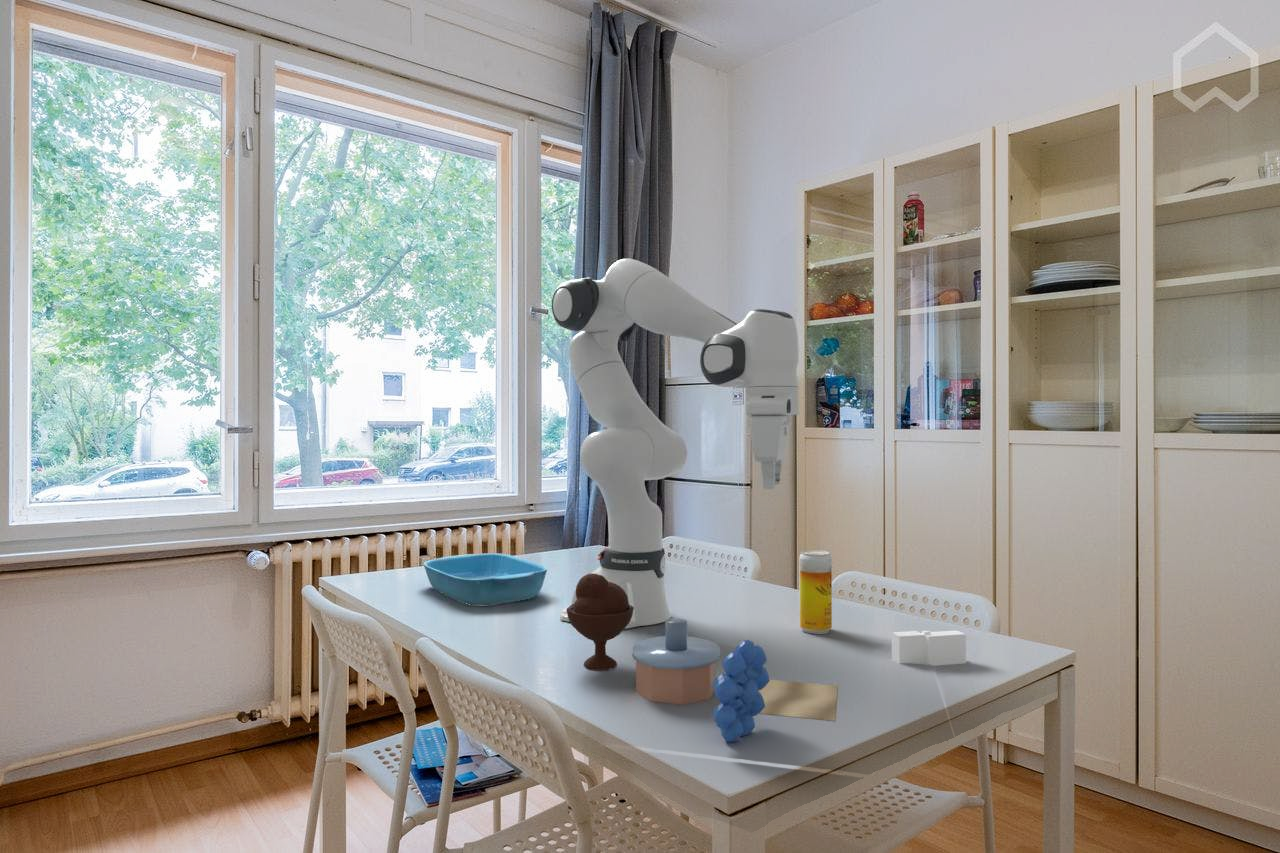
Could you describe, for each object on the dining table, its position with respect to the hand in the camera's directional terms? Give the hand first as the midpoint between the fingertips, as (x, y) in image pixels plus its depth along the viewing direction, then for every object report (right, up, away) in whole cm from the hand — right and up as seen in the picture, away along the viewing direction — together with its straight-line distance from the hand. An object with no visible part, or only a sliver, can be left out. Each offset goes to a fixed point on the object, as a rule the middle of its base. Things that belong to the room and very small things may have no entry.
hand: (772, 486), depth 129 cm
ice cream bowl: (-29, -29, -3) cm, 41 cm away
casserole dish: (-59, -30, +52) cm, 84 cm away
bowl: (-17, -29, -16) cm, 37 cm away
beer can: (+11, -29, +18) cm, 36 cm away
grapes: (-10, -30, -31) cm, 44 cm away
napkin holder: (+25, -30, -2) cm, 39 cm away
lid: (-17, -24, -16) cm, 33 cm away
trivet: (-1, -29, -19) cm, 35 cm away
